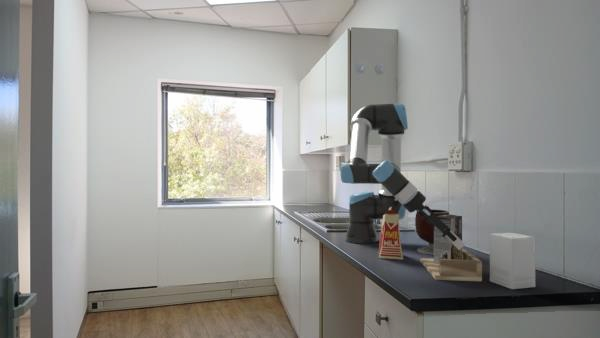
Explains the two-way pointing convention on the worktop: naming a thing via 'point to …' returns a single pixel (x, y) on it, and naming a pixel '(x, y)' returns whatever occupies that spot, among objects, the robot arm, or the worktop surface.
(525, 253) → the supplement box
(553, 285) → the worktop surface
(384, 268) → the worktop surface
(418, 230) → the mate gourd
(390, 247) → the milk carton
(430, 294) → the worktop surface
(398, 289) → the worktop surface
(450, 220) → the coffee box
